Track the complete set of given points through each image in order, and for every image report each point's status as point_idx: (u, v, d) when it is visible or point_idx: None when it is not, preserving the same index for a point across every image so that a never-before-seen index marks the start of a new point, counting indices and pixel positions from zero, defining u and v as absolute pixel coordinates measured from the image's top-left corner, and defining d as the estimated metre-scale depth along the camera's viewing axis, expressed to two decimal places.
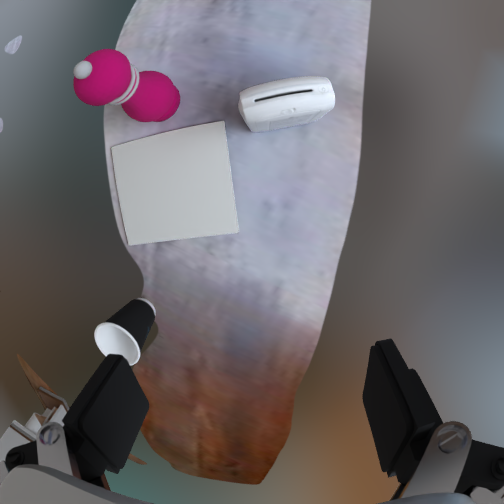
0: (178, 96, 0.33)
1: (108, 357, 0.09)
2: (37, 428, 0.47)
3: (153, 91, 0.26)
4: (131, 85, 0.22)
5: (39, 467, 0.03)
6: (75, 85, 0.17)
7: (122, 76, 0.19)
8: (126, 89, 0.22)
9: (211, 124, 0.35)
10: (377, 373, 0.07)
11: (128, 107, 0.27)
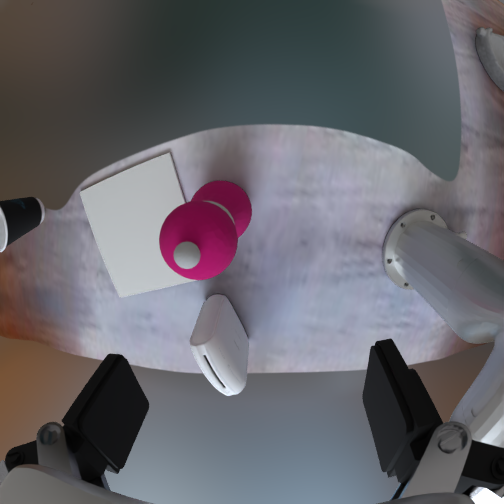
0: None
1: (108, 357, 0.09)
2: None
3: None
4: None
5: (39, 467, 0.03)
6: (174, 228, 0.18)
7: None
8: None
9: None
10: (377, 373, 0.07)
11: None
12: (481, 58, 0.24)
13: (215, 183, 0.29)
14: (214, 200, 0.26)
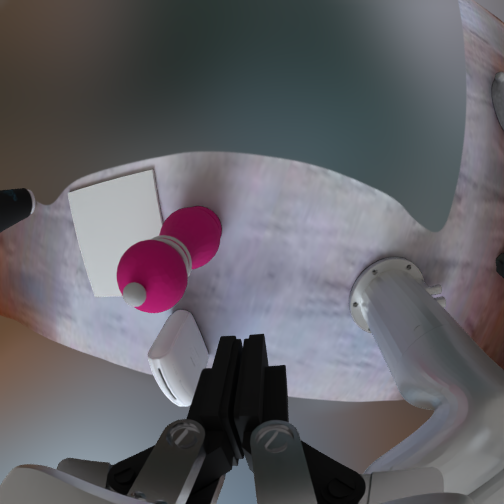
0: None
1: (223, 339, 0.10)
2: None
3: None
4: None
5: (39, 467, 0.03)
6: (127, 267, 0.19)
7: None
8: None
9: None
10: None
11: None
12: (495, 105, 0.25)
13: (186, 211, 0.30)
14: (179, 232, 0.27)
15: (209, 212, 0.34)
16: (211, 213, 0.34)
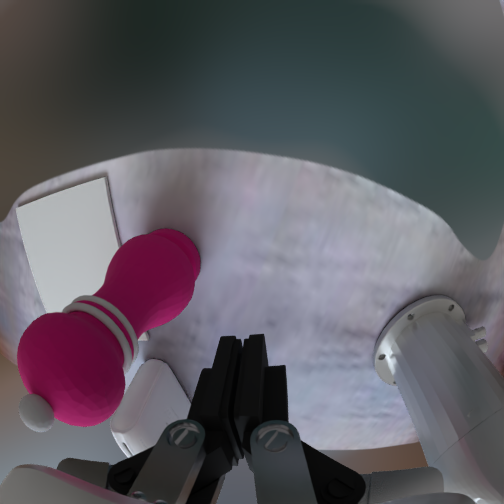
0: None
1: (223, 339, 0.10)
2: None
3: None
4: None
5: (39, 467, 0.03)
6: (22, 366, 0.08)
7: None
8: None
9: None
10: None
11: None
12: None
13: (141, 242, 0.19)
14: (123, 281, 0.16)
15: (180, 239, 0.23)
16: (184, 240, 0.23)
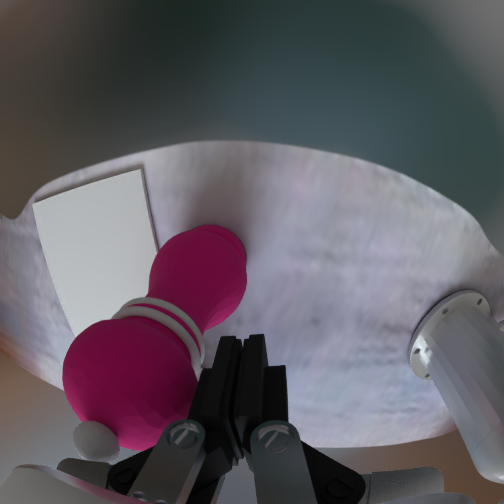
0: None
1: (223, 339, 0.10)
2: None
3: None
4: None
5: (39, 467, 0.03)
6: (74, 388, 0.07)
7: None
8: None
9: None
10: None
11: None
12: None
13: (192, 238, 0.18)
14: (180, 281, 0.15)
15: (228, 235, 0.22)
16: (231, 237, 0.22)
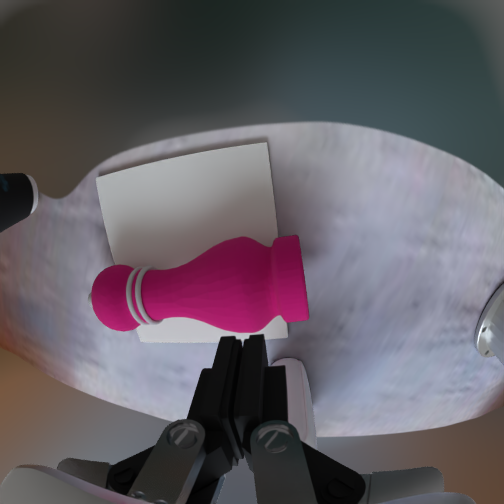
0: None
1: (223, 339, 0.10)
2: None
3: None
4: None
5: (39, 467, 0.03)
6: None
7: None
8: None
9: (284, 323, 0.25)
10: None
11: None
12: None
13: (215, 256, 0.18)
14: (172, 279, 0.20)
15: (281, 274, 0.17)
16: (284, 278, 0.17)
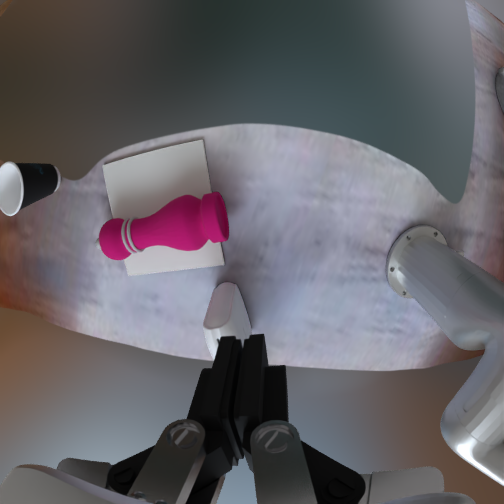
0: None
1: (223, 340, 0.10)
2: None
3: None
4: None
5: (39, 467, 0.03)
6: None
7: None
8: None
9: (220, 253, 0.39)
10: None
11: None
12: (498, 95, 0.27)
13: (170, 204, 0.32)
14: (148, 221, 0.33)
15: (204, 211, 0.31)
16: (205, 213, 0.31)
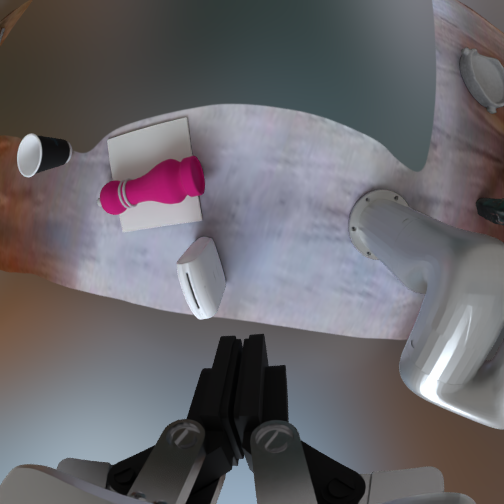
0: None
1: (223, 340, 0.10)
2: None
3: None
4: None
5: (39, 467, 0.03)
6: None
7: None
8: None
9: (198, 210, 0.46)
10: None
11: None
12: (462, 74, 0.32)
13: (157, 165, 0.39)
14: (139, 180, 0.40)
15: (182, 169, 0.38)
16: (183, 170, 0.38)
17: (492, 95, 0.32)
